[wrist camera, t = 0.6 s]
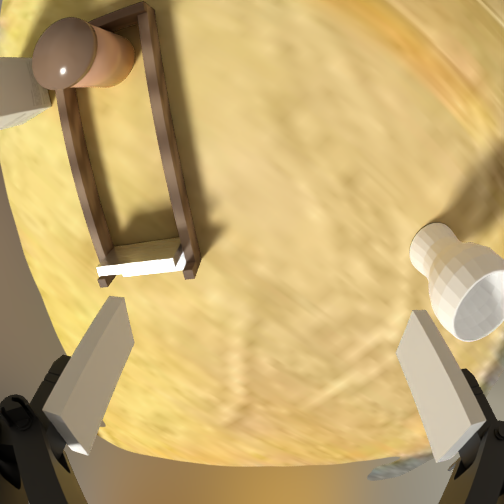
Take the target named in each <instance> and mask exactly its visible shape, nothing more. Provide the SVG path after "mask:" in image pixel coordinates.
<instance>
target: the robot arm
mask: <svg viewBox="0 0 504 504" xmlns="http://www.w3.org/2000/svg"><path fill="white" fill-rule="evenodd" d="M133 345H134V339H133V335H132V331H131V326H130V322H129V318H128V313H127V309H126V304H125V299H124V297H114V296H109V297H108V299H107V300H106V302H105V303H104V305H103V306H102V308H101V309H100V311H99V313H98V314H97V316H96V317H95V319H94V320H93V322H92V324H91V325H90V327H89V328H88V330H87V332H86V333H85V335H84V337H83V338H82V340H81V341H80V343H79V345H78V346H77V348H76V350H75V351H74V353H73V355H72V357H71V356H66V355H62V356H61V357H60V358H58V359H57V360H56V361H55V362H54V363H53V365H52V366H51V368H50V370H49V371H48V374H47V375H46V376H45V378H44V381H43V382H42V383H41V385H40V386H39V388H38V390H37V392H36V393H35V395H34V397H33V399H32V401H31V403H30V404H29V403H28V401H27V400H26V399H25V398H24V397H23V396H21V395H17V394H16V395H10V396H8V397H6V398H5V399H4V400H3V401H2V402H1V404H0V504H29V503H30V504H88V503H87V501H86V499H85V497H84V495H83V493H82V491H81V488H80V486H79V484H78V482H77V479H76V477H75V475H74V472H73V470H72V468H71V465H70V463H69V460H68V458H67V455H66V453H65V451H64V447H65V445H66V443H67V445H68V446H69V447H70V448H71V450H73V451H76V452H79V453H82V454H85V455H89V454H90V451H91V448H92V445H93V443H94V440H95V437H96V435H97V432H98V430H99V427H100V424H101V422H102V419H103V417H104V414H105V412H106V409H107V407H108V404H109V402H110V399H111V397H112V394H113V392H114V389H115V387H116V384H117V382H118V380H119V377H120V375H121V373H122V370H123V368H124V366H125V363H126V361H127V359H128V356H129V354H130V352H131V349H132V347H133ZM396 355H397V358H398V360H399V362H400V365H401V367H402V370H403V372H404V375H405V377H406V380H407V382H408V385H409V387H410V390H411V393H412V395H413V398H414V401H415V403H416V406H417V409H418V411H419V414H420V417H421V420H422V423H423V425H424V428H425V431H426V434H427V437H428V440H429V443H430V446H431V449H432V452H433V455H434V458H435V461H436V463H437V462H442V461H445V460H449V459H451V458H452V457H453V456H454V455H455V454H456V453H457V452H459V454H460V458H459V459H458V460H457V461H456V462H455V463H453V464H452V465H451V467H450V468H449V469H448V471H450V470H452V469H453V468H454V470H453V472H452V475H451V477H450V479H449V482H448V484H447V487H446V489H445V491H444V493H443V495H442V498H441V500H440V502H439V504H504V421H497V419H496V417H495V415H494V413H493V412H492V409H491V407H490V405H489V403H488V401H487V399H486V397H485V395H484V394H483V392H482V390H481V388H480V387H479V384H478V382H477V380H476V379H475V377H474V375H473V374H472V373H470V372H469V371H468V370H467V369H460V367H459V365H458V363H457V362H456V360H455V358H454V356H453V354H452V353H451V351H450V349H449V347H448V346H447V344H446V342H445V341H444V339H443V337H442V335H441V334H440V332H439V330H438V329H437V327H436V325H435V324H434V322H433V320H432V319H431V317H430V316H429V314H428V312H427V311H426V310H412V313H411V316H410V319H409V321H408V324H407V326H406V329H405V331H404V334H403V336H402V339H401V341H400V344H399V346H398V348H397V351H396ZM28 501H29V503H28Z"/></svg>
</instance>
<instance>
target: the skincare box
mask: <svg viewBox="0 0 504 504" xmlns="http://www.w3.org/2000/svg"><path fill="white" fill-rule="evenodd" d="M51 106H52V105H51V102H50V98H49V94H48V90H47V89H46V88H44V87H42V86H41V85H40V84H39V83H38V82H37V80H36V79H35V77H34V74H33V69H32V58H17V57H0V130H2V129H6V128H9V127H13V126H17V125H21V124H24V123H25V122H27V121H29V120H30V119H32V118H33V117H35V116H37V115H38V114H40V113H41V112H43V111H45V110H46V109H48V108H50V107H51Z"/></svg>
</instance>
